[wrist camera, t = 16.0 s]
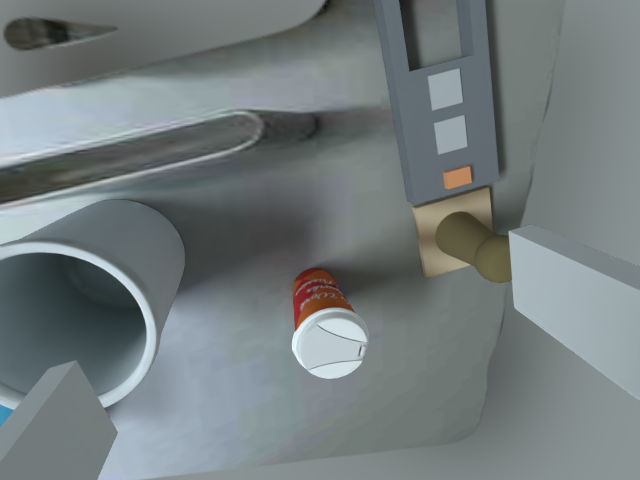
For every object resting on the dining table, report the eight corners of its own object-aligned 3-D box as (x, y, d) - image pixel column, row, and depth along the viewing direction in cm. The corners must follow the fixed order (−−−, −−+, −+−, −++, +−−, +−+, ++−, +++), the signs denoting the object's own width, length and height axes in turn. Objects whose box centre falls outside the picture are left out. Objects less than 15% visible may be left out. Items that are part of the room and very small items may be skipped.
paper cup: (347, 264, 49) (380, 317, 36) (336, 316, 51) (363, 384, 38) (288, 257, 47) (300, 310, 34) (279, 311, 50) (287, 381, 36)
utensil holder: (195, 200, 43) (158, 250, 27) (190, 314, 48) (155, 417, 31) (54, 186, 41) (-84, 233, 24) (62, 308, 45) (-50, 419, 29)
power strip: (358, -91, 37) (367, -110, 34) (461, -115, 38) (479, -135, 35) (407, 200, 48) (417, 206, 44) (487, 177, 48) (503, 181, 45)
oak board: (412, 206, 48) (415, 208, 47) (484, 186, 49) (489, 187, 48) (423, 275, 51) (426, 278, 50) (491, 255, 52) (495, 257, 51)
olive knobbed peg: (425, 238, 49) (471, 272, 38) (457, 202, 48) (512, 225, 37) (456, 263, 50) (508, 301, 40) (487, 228, 50) (547, 258, 39)
